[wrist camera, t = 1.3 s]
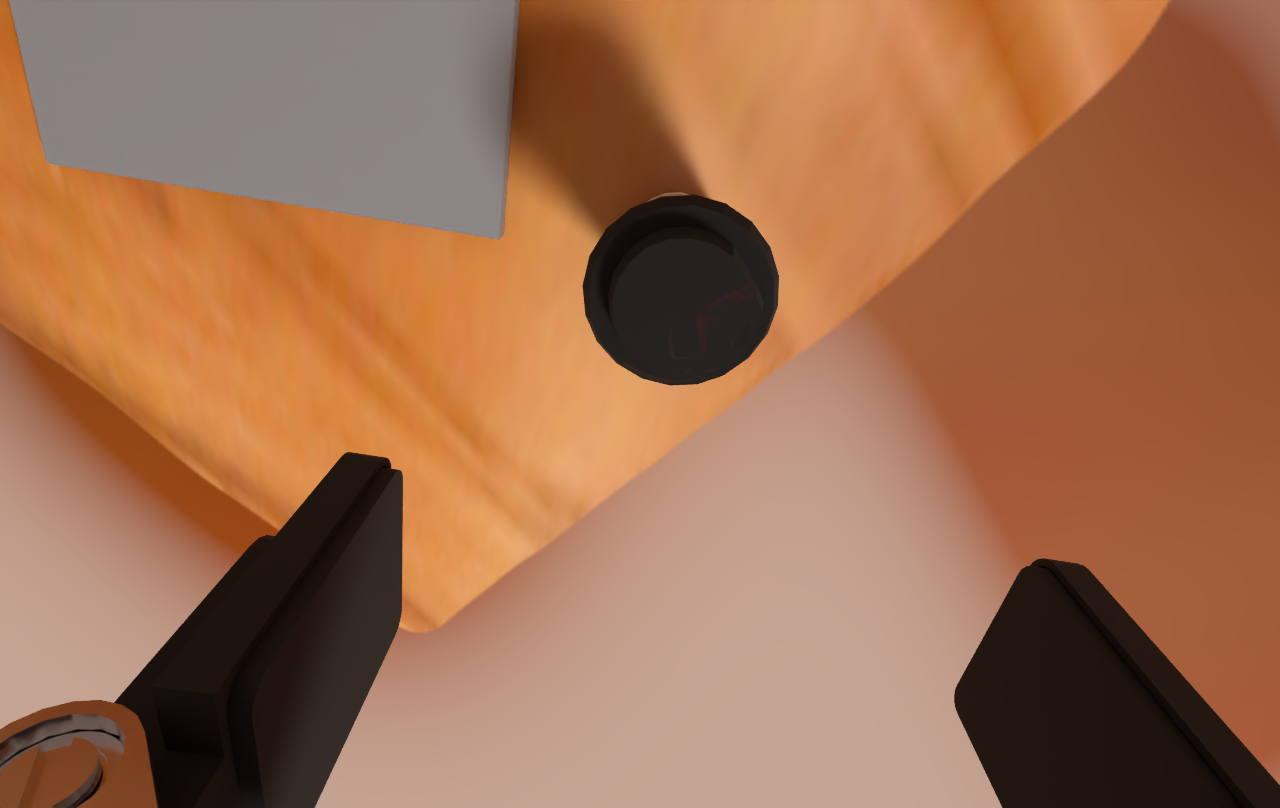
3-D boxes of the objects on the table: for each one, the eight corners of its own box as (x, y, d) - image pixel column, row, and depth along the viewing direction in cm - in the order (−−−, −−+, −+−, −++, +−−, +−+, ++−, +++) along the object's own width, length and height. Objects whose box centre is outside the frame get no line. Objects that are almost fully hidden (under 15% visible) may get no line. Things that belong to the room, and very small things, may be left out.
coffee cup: (578, 278, 32) (548, 357, 23) (636, 137, 29) (627, 163, 20) (707, 334, 33) (727, 430, 24) (775, 203, 30) (827, 257, 21)
